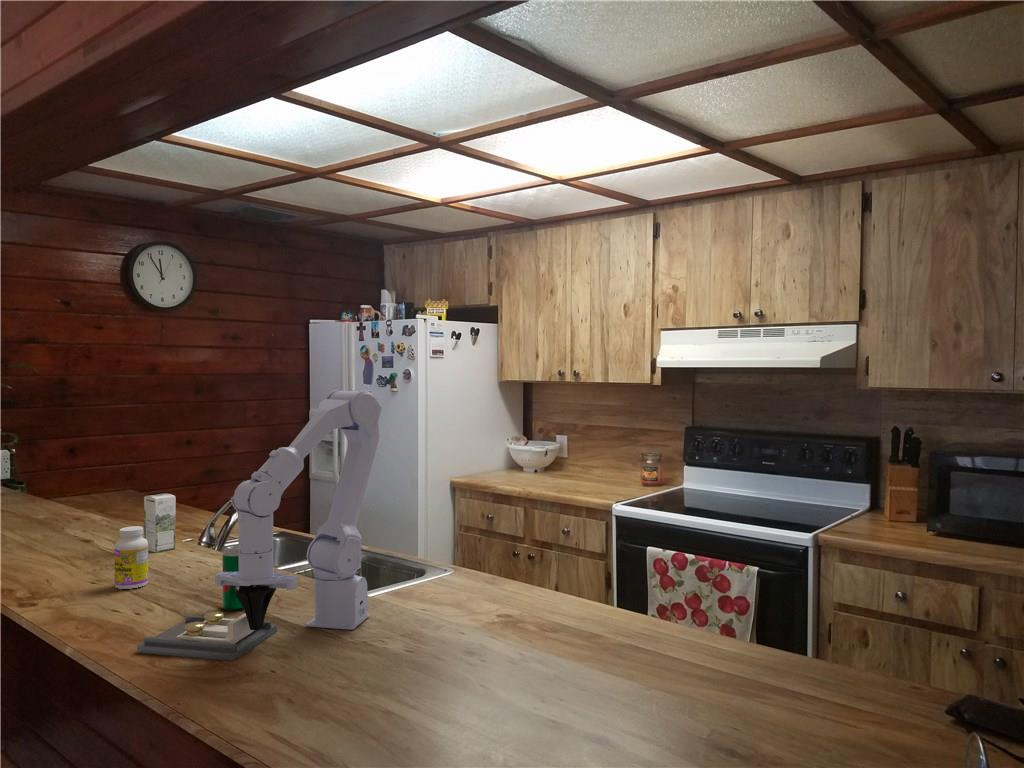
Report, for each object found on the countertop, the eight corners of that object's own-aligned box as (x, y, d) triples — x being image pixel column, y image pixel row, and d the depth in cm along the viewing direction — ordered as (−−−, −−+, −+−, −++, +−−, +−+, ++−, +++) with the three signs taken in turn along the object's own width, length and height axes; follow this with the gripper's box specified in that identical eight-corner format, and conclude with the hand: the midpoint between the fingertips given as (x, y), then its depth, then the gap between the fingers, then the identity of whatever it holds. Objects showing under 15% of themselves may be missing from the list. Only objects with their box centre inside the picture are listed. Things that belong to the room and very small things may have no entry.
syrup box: (164, 545, 202) (164, 492, 201) (176, 549, 198) (175, 494, 198) (143, 550, 197) (143, 495, 197) (155, 553, 194) (155, 497, 193)
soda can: (240, 612, 146) (240, 551, 146) (217, 610, 147) (217, 550, 147) (254, 604, 151) (254, 545, 151) (232, 602, 152) (231, 544, 152)
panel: (261, 626, 134) (261, 607, 134) (229, 646, 124) (229, 625, 124) (211, 622, 136) (211, 603, 136) (176, 642, 126) (176, 621, 126)
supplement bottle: (107, 588, 162) (107, 530, 162) (133, 580, 168) (132, 524, 168) (130, 592, 160) (129, 532, 160) (155, 583, 166) (154, 526, 166)
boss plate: (277, 631, 135) (276, 610, 135) (233, 661, 122) (233, 637, 122) (188, 624, 139) (188, 604, 139) (137, 652, 125) (136, 629, 125)
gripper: (204, 553, 126) (204, 633, 126) (283, 557, 123) (283, 639, 123) (228, 544, 133) (228, 619, 133) (303, 547, 130) (303, 625, 130)
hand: (256, 628), depth 129 cm, fingers closed
